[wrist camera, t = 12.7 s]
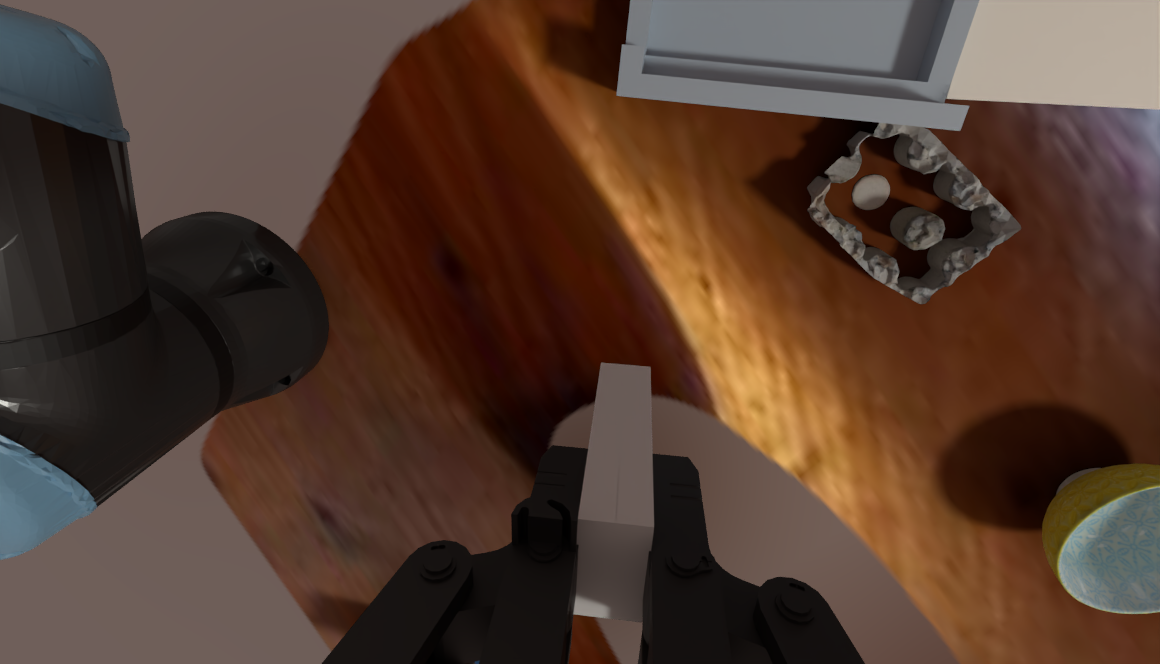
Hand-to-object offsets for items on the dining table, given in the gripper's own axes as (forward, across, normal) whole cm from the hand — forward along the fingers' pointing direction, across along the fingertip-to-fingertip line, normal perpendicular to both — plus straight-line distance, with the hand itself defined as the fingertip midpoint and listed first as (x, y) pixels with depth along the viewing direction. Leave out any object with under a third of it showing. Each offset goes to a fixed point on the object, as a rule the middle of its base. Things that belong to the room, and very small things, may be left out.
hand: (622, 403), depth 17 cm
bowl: (+22, +36, -18) cm, 46 cm away
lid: (+23, +25, +13) cm, 36 cm away
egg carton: (+23, +16, +2) cm, 28 cm away
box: (+23, +8, +13) cm, 28 cm away
